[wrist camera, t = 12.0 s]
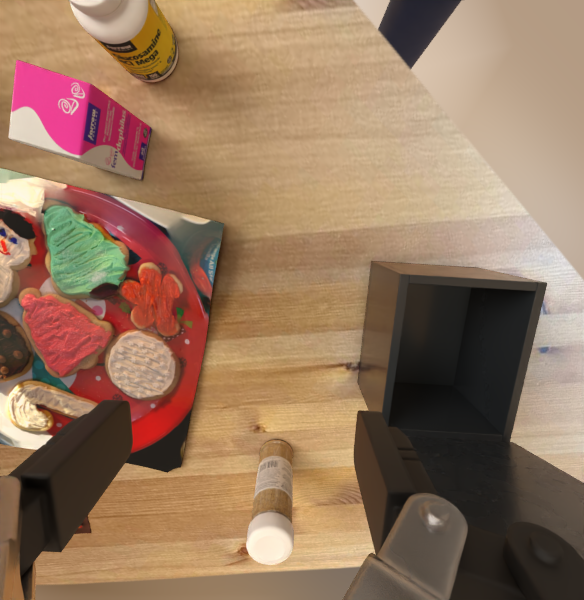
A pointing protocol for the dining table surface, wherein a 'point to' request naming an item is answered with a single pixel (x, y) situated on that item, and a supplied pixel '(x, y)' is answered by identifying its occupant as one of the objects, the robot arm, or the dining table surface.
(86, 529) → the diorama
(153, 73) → the pill bottle
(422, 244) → the dining table surface
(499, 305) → the bin
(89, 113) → the supplement box
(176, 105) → the dining table surface
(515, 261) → the dining table surface
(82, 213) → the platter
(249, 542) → the sprinkles bottle
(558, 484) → the bin lid
